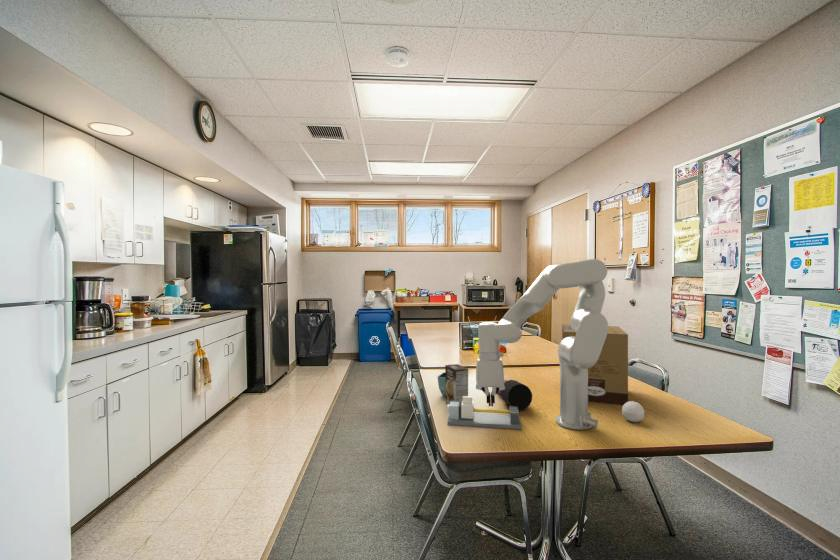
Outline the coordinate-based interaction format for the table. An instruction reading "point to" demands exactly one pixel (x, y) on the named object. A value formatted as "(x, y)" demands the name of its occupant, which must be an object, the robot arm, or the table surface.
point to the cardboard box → (608, 368)
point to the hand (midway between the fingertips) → (490, 404)
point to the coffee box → (456, 383)
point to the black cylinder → (516, 394)
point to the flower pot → (442, 383)
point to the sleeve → (467, 408)
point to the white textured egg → (633, 411)
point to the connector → (454, 410)
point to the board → (491, 420)
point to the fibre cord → (491, 411)
